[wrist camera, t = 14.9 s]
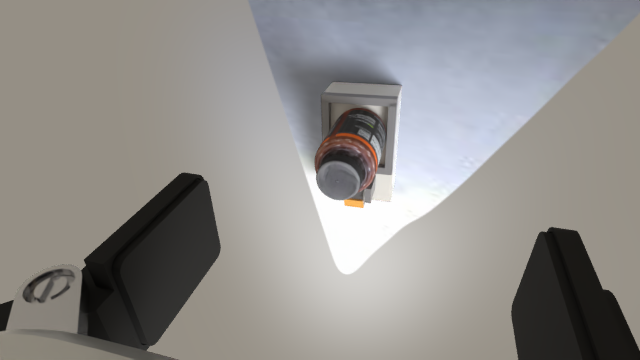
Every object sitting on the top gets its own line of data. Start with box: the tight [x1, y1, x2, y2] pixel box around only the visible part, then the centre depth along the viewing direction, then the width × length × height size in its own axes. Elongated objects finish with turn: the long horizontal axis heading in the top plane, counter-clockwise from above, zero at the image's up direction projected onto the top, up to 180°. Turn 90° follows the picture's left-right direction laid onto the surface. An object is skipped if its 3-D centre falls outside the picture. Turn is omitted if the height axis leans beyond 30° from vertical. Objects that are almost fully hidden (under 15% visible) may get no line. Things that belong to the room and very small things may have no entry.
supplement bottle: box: [315, 108, 387, 200], centre depth 38 cm, size 6×6×11 cm
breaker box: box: [321, 82, 402, 203], centre depth 45 cm, size 13×8×7 cm, turn 1°
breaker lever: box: [344, 189, 365, 208], centre depth 44 cm, size 5×2×1 cm, turn 2°
